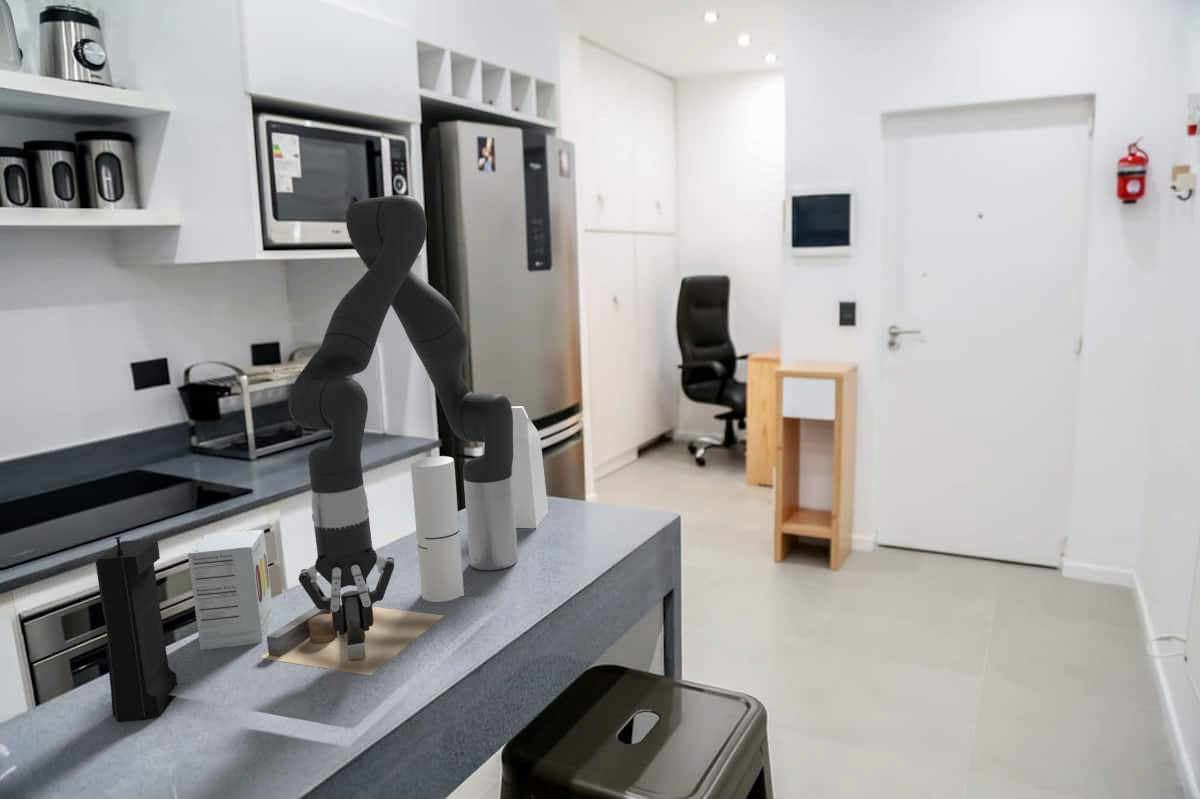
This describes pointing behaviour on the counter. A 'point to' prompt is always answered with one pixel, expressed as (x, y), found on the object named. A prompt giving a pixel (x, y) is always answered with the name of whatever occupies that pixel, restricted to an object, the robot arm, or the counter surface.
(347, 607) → the lever
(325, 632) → the nut
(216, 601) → the supplement box
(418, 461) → the cylindrical container
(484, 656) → the counter surface
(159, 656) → the portable radio
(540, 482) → the milk
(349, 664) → the nutcracker board
